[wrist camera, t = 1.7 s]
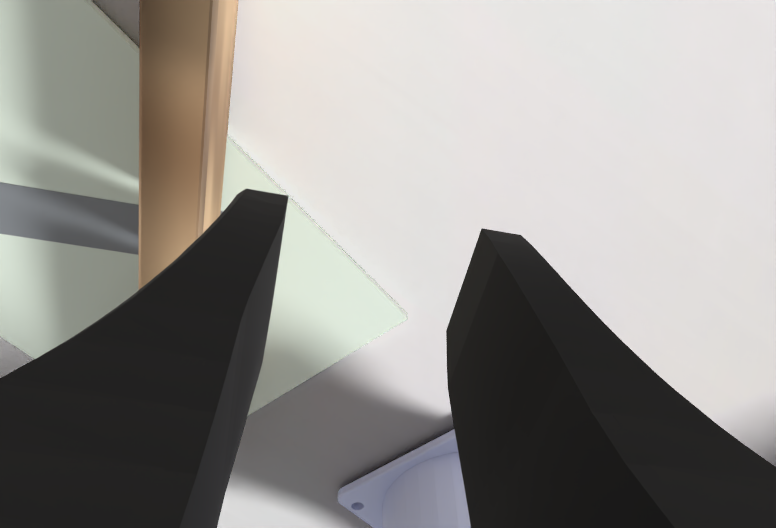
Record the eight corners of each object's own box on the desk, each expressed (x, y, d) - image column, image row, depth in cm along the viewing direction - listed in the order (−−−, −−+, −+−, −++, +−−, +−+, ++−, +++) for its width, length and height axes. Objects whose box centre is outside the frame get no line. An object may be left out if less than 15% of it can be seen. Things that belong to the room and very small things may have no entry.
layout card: (407, 313, 23) (407, 319, 23) (183, 450, 27) (181, 456, 27) (1, -89, 16) (-5, -87, 16) (-228, 176, 20) (-236, 181, 19)
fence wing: (222, 214, 20) (193, 301, 17) (176, 207, 20) (138, 294, 17) (248, -86, 15) (215, -47, 12) (188, -100, 15) (139, -63, 12)
